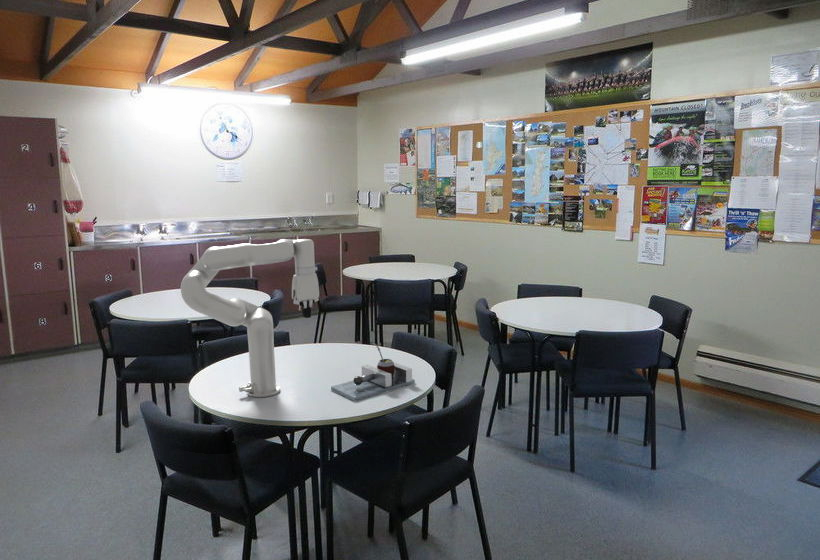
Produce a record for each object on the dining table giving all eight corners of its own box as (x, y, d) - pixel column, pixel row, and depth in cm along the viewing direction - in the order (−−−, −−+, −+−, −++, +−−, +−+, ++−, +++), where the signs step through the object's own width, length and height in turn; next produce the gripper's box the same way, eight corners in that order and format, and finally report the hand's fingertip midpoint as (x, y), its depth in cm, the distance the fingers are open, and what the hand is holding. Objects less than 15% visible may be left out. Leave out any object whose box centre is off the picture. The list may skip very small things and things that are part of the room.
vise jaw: (366, 393, 220) (366, 381, 219) (342, 382, 232) (342, 370, 231) (391, 385, 228) (391, 374, 227) (367, 375, 240) (367, 364, 239)
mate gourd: (396, 381, 234) (396, 345, 232) (377, 383, 232) (377, 347, 229) (391, 375, 241) (391, 340, 239) (373, 377, 239) (372, 342, 236)
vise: (354, 401, 217) (353, 384, 216) (331, 390, 229) (330, 374, 228) (414, 383, 236) (414, 368, 235) (390, 373, 248) (390, 359, 247)
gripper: (316, 268, 232) (318, 312, 235) (283, 272, 222) (285, 318, 225) (326, 270, 226) (328, 316, 229) (292, 274, 216) (294, 322, 219)
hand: (306, 317), depth 227 cm, fingers closed
